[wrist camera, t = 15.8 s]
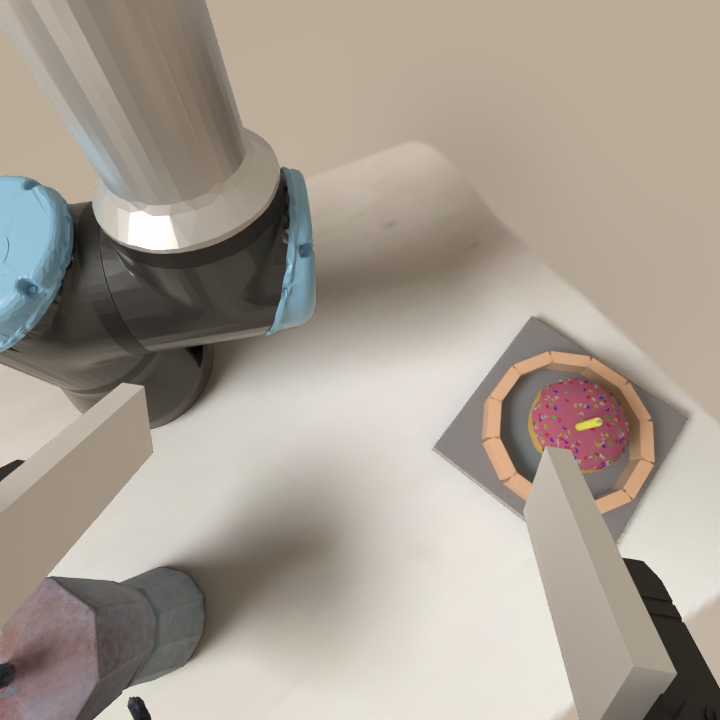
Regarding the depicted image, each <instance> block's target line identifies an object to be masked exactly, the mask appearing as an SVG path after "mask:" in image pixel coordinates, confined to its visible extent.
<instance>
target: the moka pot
mask: <svg viewBox="0 0 720 720" xmlns="http://www.w3.org/2000/svg"><path fill="white" fill-rule="evenodd" d="M204 624H205V605H204V597H203V595H202V593H201V591H200V590H199V588H198V587H197V586H196V584H195V583H194V581H193V580H192V578H191V577H190V576H188V575H187V574H186V573H183V572H181V571H177V570H173V569H169V568H162V567H158V568H155V569H153V570H150V571H148V572H145V573H143V574H141V575H138V576H135V577H133V578H130V579H128V580H126V581H123V582H121V583H117V582H114V581H107V580H94V579H81V578H66V577H55V576H51V577H46V578H45V579H44V580H43V581H42V582H41V584H40V585H39V586H38V587H37V588H36V589H35V591H34V592H33V593H32V594H31V595H30V596H29V598H28V599H27V600H26V601H25V602H24V603H23V605H22V606H21V607H20V608H19V609H18V610H17V611H16V613H15V614H14V615H13V616H12V617H11V618H10V620H9V621H8V622H7V623H6V624H5V625H4V627H3V628H2V629H1V630H0V720H93V719H94V718H95V717H96V716H97V715H99V714H100V713H101V712H102V711H103V710H104V709H105V708H106V707H108V706H109V705H110V704H111V703H112V702H113V701H114V700H115V699H117V698H118V697H119V696H120V695H121V694H122V690H124V689H127V688H128V687H131V686H134V685H137V684H141V683H145V682H149V681H152V680H155V679H157V678H159V677H162V676H164V675H166V674H168V673H170V672H172V671H174V670H176V669H178V668H179V667H182V666H184V665H185V664H186V663H187V661H188V660H189V658H190V657H191V655H192V653H193V652H194V650H195V649H196V647H197V645H198V643H199V641H200V639H201V637H202V634H203V631H204ZM127 707H128V709H129V710H130V712H131V714H132V716H133V718H134V720H151V716H150V714H149V712H148V710H147V709H146V707H145V704H144V701H143V700H142V699H141V698H140V697H136V698H135V697H132V698H131V697H130V698H129V701H128V706H127Z"/></svg>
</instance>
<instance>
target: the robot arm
mask: <svg viewBox="0 0 720 720" xmlns="http://www.w3.org/2000/svg"><path fill="white" fill-rule="evenodd" d="M0 25H1V27H2V29H3V30H4V32H5V33H6V35H7V36H8V38H9V39H10V41H11V42H12V44H13V45H14V47H15V48H16V50H17V51H18V53H19V55H20V56H21V57H22V59H23V61H24V62H25V64H26V65H27V67H28V68H29V70H30V71H31V73H32V75H33V76H34V77H35V79H36V81H37V82H38V84H39V85H40V87H41V88H42V90H43V91H44V93H45V94H46V96H47V97H48V99H49V100H50V102H51V104H52V105H53V107H54V108H55V110H56V111H57V113H58V114H59V116H60V117H61V119H62V120H63V122H64V123H65V125H66V126H67V128H68V129H69V131H70V133H71V134H72V136H73V137H74V139H75V140H76V142H77V143H78V145H79V146H80V148H81V149H82V151H83V152H84V154H85V155H86V157H87V158H88V160H89V162H90V163H91V165H92V166H93V167H94V169H95V171H96V172H97V174H98V175H99V178H98V180H97V182H96V185H95V187H94V192H93V197H92V201H90V202H84V203H77V204H67V202H66V200H65V199H64V198H63V197H62V196H61V195H60V194H59V193H58V192H57V191H56V190H54V189H52V188H49V187H46V186H43V185H42V184H40V183H39V182H37V181H36V180H33V179H31V178H27V177H22V176H0V364H3V365H5V366H8V367H10V368H13V369H15V370H18V371H20V372H22V373H25V374H27V375H30V376H32V377H35V378H37V379H40V380H42V381H45V382H47V383H50V384H52V385H55V386H57V387H60V388H61V389H62V390H63V392H64V393H65V394H66V395H67V397H68V398H69V399H70V401H71V402H72V403H73V404H74V406H75V407H76V408H77V409H78V410H79V411H80V412H81V413H82V414H83V415H82V416H81V417H79V418H78V419H77V420H76V421H74V422H73V423H72V424H71V425H70V426H68V427H67V428H66V429H65V430H63V431H62V432H61V433H60V434H58V435H57V436H56V437H55V438H54V439H52V440H51V441H50V442H49V443H47V444H46V445H45V446H44V447H42V448H41V449H40V450H39V451H38V452H36V453H35V454H34V455H33V456H31V457H30V458H29V459H28V460H26V461H23V460H16V461H14V462H11V463H9V464H7V465H5V466H3V467H1V468H0V630H1V629H2V628H3V627H4V625H5V624H6V623H7V622H8V621H9V620H10V618H11V617H12V616H13V615H14V614H15V613H16V611H17V610H18V609H19V608H20V607H21V606H22V605H23V603H24V602H25V601H26V600H27V599H28V598H29V596H30V595H31V594H32V593H33V592H34V591H35V589H36V588H37V587H38V586H39V585H40V584H41V582H42V581H43V580H44V579H45V578H46V577H47V575H48V574H49V573H50V572H51V571H52V570H53V568H54V567H55V566H56V565H57V564H58V563H59V561H60V560H61V559H62V558H63V557H64V556H65V554H66V553H67V552H68V551H69V550H70V549H71V547H72V546H73V545H74V544H75V543H76V542H77V540H78V539H79V538H80V537H81V536H82V535H83V533H84V532H85V531H86V530H87V529H88V528H89V526H90V525H91V524H92V523H93V522H94V521H95V519H96V518H97V517H98V516H99V515H100V514H101V513H102V511H103V510H104V509H105V508H106V507H107V506H108V504H109V503H110V502H111V501H112V500H113V499H114V497H115V496H116V495H117V494H118V493H119V492H120V490H121V489H122V488H123V487H124V486H125V485H126V483H127V482H128V481H129V480H130V479H131V478H132V476H133V475H134V474H135V473H136V472H137V471H138V469H139V468H140V467H141V466H142V465H143V464H144V462H145V461H146V460H147V459H148V458H149V457H150V455H151V454H152V453H153V447H152V440H151V433H150V429H152V428H156V427H159V426H161V425H164V424H166V423H168V422H170V421H172V420H173V419H175V418H177V417H178V416H180V415H181V414H182V413H184V412H185V411H186V410H187V409H188V408H189V407H190V406H191V405H192V404H193V403H194V402H195V401H196V400H197V398H198V397H199V396H200V394H201V393H202V391H203V389H204V388H205V386H206V384H207V381H208V379H209V376H210V373H211V369H212V364H213V346H212V343H216V342H222V341H228V340H235V339H241V338H247V337H253V336H260V335H265V336H266V335H271V334H273V333H275V332H276V331H278V330H283V329H287V328H292V327H296V326H300V325H302V324H304V323H306V322H307V321H308V320H309V319H310V318H311V317H312V315H313V313H314V311H315V307H316V271H315V259H314V252H313V250H312V248H313V240H312V224H311V216H310V208H309V201H308V195H307V189H306V184H305V180H304V177H303V175H302V173H301V172H300V171H298V170H296V169H288V168H285V167H282V168H280V167H279V163H278V160H277V157H276V155H275V153H274V151H273V149H272V148H271V146H270V145H269V144H268V143H267V142H266V141H265V140H264V139H263V138H262V137H260V136H259V135H258V134H256V133H254V132H252V131H250V130H249V129H246V128H244V127H243V125H242V122H241V119H240V115H239V112H238V109H237V105H236V102H235V98H234V95H233V92H232V88H231V85H230V82H229V79H228V75H227V72H226V68H225V65H224V62H223V58H222V55H221V51H220V48H219V45H218V41H217V38H216V35H215V31H214V28H213V24H212V22H211V18H210V14H209V11H208V8H207V4H206V1H205V0H0ZM523 513H524V517H525V520H526V524H527V528H528V531H529V535H530V539H531V543H532V546H533V550H534V554H535V557H536V561H537V565H538V568H539V572H540V576H541V580H542V583H543V587H544V591H545V594H546V598H547V602H548V605H549V609H550V613H551V617H552V620H553V624H554V628H555V631H556V635H557V639H558V642H559V646H560V650H561V654H562V657H563V661H564V665H565V668H566V672H567V676H568V680H569V683H570V687H571V691H572V694H573V698H574V702H575V705H576V709H577V713H578V717H579V720H720V688H719V686H718V684H717V682H716V681H715V679H714V677H713V675H712V673H711V671H710V670H709V668H708V666H707V664H706V662H705V660H704V658H703V657H702V655H701V653H700V651H699V649H698V647H697V646H696V644H695V642H694V640H693V638H692V636H691V634H690V633H689V631H688V629H687V627H686V625H685V623H683V622H682V620H681V619H682V618H681V616H680V614H679V612H678V610H677V608H676V607H675V605H673V604H672V599H671V597H670V596H669V594H668V592H667V590H666V588H665V586H664V584H663V583H662V581H661V580H660V578H659V577H658V576H657V575H656V574H655V573H654V572H653V571H652V570H651V569H650V568H649V567H648V566H647V565H646V564H645V563H644V561H639V560H633V559H627V558H622V557H621V555H620V553H619V550H618V548H617V546H616V544H615V542H614V540H613V538H612V536H611V534H610V532H609V529H608V527H607V525H606V523H605V521H604V519H603V517H602V515H601V513H600V511H599V508H598V506H597V504H596V502H595V500H594V498H593V496H592V494H591V492H590V490H589V487H588V485H587V483H586V481H585V479H584V477H583V475H582V473H581V471H580V469H579V466H578V464H577V462H576V460H575V458H574V456H573V454H572V452H571V450H569V449H562V448H556V447H549V446H545V449H544V452H543V455H542V458H541V461H540V464H539V467H538V469H537V472H536V475H535V478H534V481H533V484H532V487H531V490H530V493H529V496H528V499H527V501H526V504H525V507H524V510H523Z"/></svg>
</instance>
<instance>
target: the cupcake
mask: <svg viewBox="0 0 720 720" xmlns="http://www.w3.org/2000/svg"><path fill="white" fill-rule="evenodd" d="M612 395H613V394H612V392H611V393H609V392H608V391H606V390H605V389H604V388H602V387H601V386H599V385H597V384H595V383H593V382H590V381H586V380H583V379H580V378H567V379H564V380H561V381H560V380H559V382H556V383H553V384H551V385H548V386H546V387H544V388H543V389H541V390H540V391H539V393H538V395H537V396H536V398H535V400H534V402H533V404H532V407H531V409H530V413H529V417H528V431H529V434H530V437H531V439H532V442H533V445H534V447H535V448H536V450H537V451H538V452H539V453H541V454H542V455H543V452H544V449H545V446H549V447H556V448H562V449H569V450H571V452H572V454H573V456H574V458H575V460H576V462H577V464H578V466H579V469H580V471H581V473H592V472H598V471H601V470H603V469H604V468H606V467H607V466H609V465H610V464H611V463H615V462H616V461H617V460H618V459H619V458H620V456H622V455H623V453H624V452H625V446H626V444H627V441H628V437H629V431H630V430H629V428H628V422H627V419H626V416H625V415H626V414H625V413H624V411H623V408H622V407H621V405H620V403H619V402H618V401H617V400H616V399H615V398H614V397H613V396H612ZM623 451H624V452H623Z"/></svg>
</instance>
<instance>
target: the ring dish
mask: <svg viewBox="0 0 720 720" xmlns="http://www.w3.org/2000/svg"><path fill="white" fill-rule="evenodd" d="M567 378H580V379H583V380H586V381H590V382H593V383H595V384H597V385H599V386H601V387H602V388H604V389H605V390H606V391H608V392H609V393H611V392H612V394H613V395H612V396H613V397H614V398H615V399H616V400H617V401H618V402H619V403H620V405H621V407H622V408H623V411H624V413H625V414H626V415H625V416H626V419H627V422H628V428H629V430H630V431H629V437H628V441H627V444H626V446H625V452H624V451H623V452H624V453H623V455H622V456H620V458H619V459H618V460H617V461H616V462H615V463H611V464H610V465H609V466H607V467H606V468H604V469H603V470H601V471H598V472H592V473H582V475H583V477H584V479H585V481H586V483H587V485H588V487H589V490H590V492H591V494H592V496H593V498H594V500H595V502H596V504H597V506H598V508H599V511H600V513H601V515H602V517H603V519H604V521H605V523H606V525H607V527H608V529H609V532H610V534H611V536H612V538H613V540H614V542H616V540H617V538H618V537H619V535H620V533H621V531H622V530H623V528H624V526H625V525H626V523H627V521H628V520H629V518H630V516H631V514H632V513H633V511H634V509H635V508H636V506H637V504H638V503H639V501H640V499H641V497H642V496H643V494H644V492H645V491H646V489H647V487H648V486H649V484H650V482H651V480H652V479H653V477H654V475H655V474H656V472H657V470H658V469H659V467H660V465H661V463H662V462H663V460H664V458H665V457H666V455H667V453H668V452H669V450H670V448H671V446H672V445H673V443H674V441H675V440H676V438H677V436H678V435H679V433H680V431H681V430H682V428H683V426H684V424H685V423H686V421H687V418H686V417H684V416H683V415H681V414H680V413H678V412H677V411H675V410H674V409H672V408H671V407H669V406H668V405H666V404H665V403H663V402H662V401H660V400H659V399H657V398H656V397H654V396H653V395H651V394H649V393H648V392H646V391H645V390H643V389H642V388H640V387H639V386H637V385H636V384H634V383H633V382H631V381H630V380H628V379H627V378H625V377H624V376H622V375H621V374H619V373H618V372H616V371H615V370H613V369H612V368H610V367H609V366H607V365H606V364H604V363H602V362H601V361H599V360H598V359H596V358H595V357H593V356H592V355H590V354H589V353H587V352H586V351H584V350H583V349H581V348H580V347H578V346H577V345H575V344H574V343H572V342H571V341H569V340H568V339H566V338H565V337H563V336H562V335H560V334H559V333H557V332H555V331H554V330H552V329H551V328H549V327H548V326H546V325H545V324H543V323H542V322H540V321H539V320H537V319H536V318H534V317H533V316H531V318H530V319H529V320H528V321H527V323H526V324H525V325H524V327H523V328H522V329H521V331H520V332H519V333H518V335H517V336H516V337H515V339H514V340H513V341H512V343H511V344H510V345H509V347H508V348H507V349H506V351H505V352H504V353H503V355H502V356H501V357H500V359H499V360H498V361H497V363H496V364H495V366H494V367H493V368H492V370H491V371H490V372H489V374H488V375H487V376H486V378H485V379H484V380H483V382H482V383H481V384H480V386H479V387H478V388H477V390H476V391H475V392H474V394H473V395H472V396H471V398H470V399H469V400H468V402H467V403H466V404H465V406H464V407H463V408H462V410H461V411H460V412H459V414H458V415H457V416H456V418H455V419H454V420H453V422H452V423H451V424H450V426H449V427H448V428H447V430H446V431H445V432H444V434H443V435H442V436H441V438H440V439H439V440H438V442H437V443H436V444H435V446H434V447H433V448H432V450H434V451H435V452H436V453H437V454H439V455H440V456H441V457H443V458H444V459H445V460H446V461H448V462H449V463H450V464H452V465H453V466H454V467H455V468H457V469H458V470H459V471H461V472H462V473H463V474H464V475H466V476H467V477H468V478H470V479H471V480H472V481H473V482H475V483H476V484H477V485H479V486H480V487H481V488H482V489H484V490H485V491H486V492H488V493H489V494H490V495H491V496H493V497H494V498H495V499H497V500H498V501H499V502H500V503H502V504H503V505H504V506H506V507H507V508H508V509H509V510H511V511H512V512H513V513H515V514H516V515H517V516H518V517H520V518H521V519H522V520H524V521H525V522H526V520H525V517H524V513H523V510H524V507H525V504H526V501H527V499H528V496H529V493H530V490H531V487H532V484H533V481H534V478H535V475H536V472H537V469H538V467H539V464H540V461H541V458H542V454H541V453H539V452H538V451H537V450H536V448H535V447H534V445H533V442H532V439H531V437H530V434H529V431H528V417H529V413H530V409H531V407H532V404H533V402H534V400H535V398H536V396H537V395H538V393H539V391H540V390H541V389H543V388H544V387H546V386H548V385H551V384H553V383H556V382H559V380H560V381H561V380H564V379H567Z"/></svg>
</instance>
